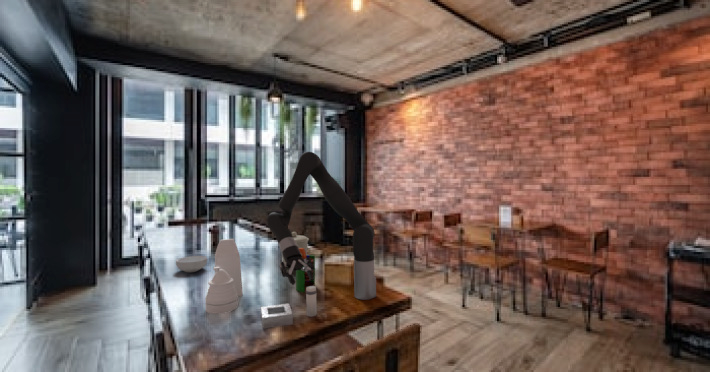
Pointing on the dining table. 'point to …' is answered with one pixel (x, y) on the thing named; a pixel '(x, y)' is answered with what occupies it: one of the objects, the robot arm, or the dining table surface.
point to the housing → (276, 315)
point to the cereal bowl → (191, 263)
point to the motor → (304, 274)
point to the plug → (311, 301)
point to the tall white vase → (230, 262)
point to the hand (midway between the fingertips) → (303, 281)
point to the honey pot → (221, 293)
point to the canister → (299, 242)
